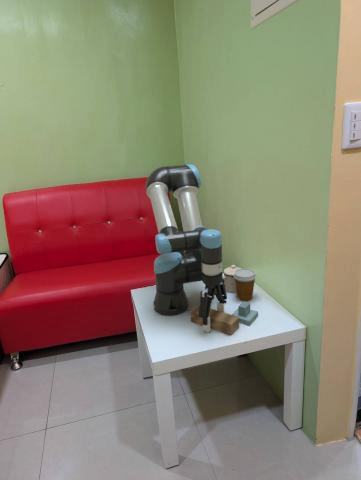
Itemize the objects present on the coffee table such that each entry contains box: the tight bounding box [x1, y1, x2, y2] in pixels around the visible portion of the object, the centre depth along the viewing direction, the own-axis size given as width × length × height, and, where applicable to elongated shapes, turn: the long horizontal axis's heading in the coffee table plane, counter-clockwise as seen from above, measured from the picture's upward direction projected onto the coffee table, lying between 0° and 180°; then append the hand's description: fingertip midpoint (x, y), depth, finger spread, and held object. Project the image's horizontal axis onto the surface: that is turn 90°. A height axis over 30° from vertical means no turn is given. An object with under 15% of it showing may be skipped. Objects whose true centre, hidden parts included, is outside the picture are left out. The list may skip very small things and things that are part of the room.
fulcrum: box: [231, 301, 259, 327], centre depth 138 cm, size 8×8×6 cm
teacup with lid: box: [222, 264, 242, 294], centre depth 160 cm, size 12×9×12 cm
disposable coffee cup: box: [234, 268, 257, 302], centre depth 152 cm, size 10×10×12 cm
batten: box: [189, 304, 240, 336], centre depth 135 cm, size 18×6×5 cm, turn 54°
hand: (214, 324), depth 136 cm, fingers open, 10 cm apart
